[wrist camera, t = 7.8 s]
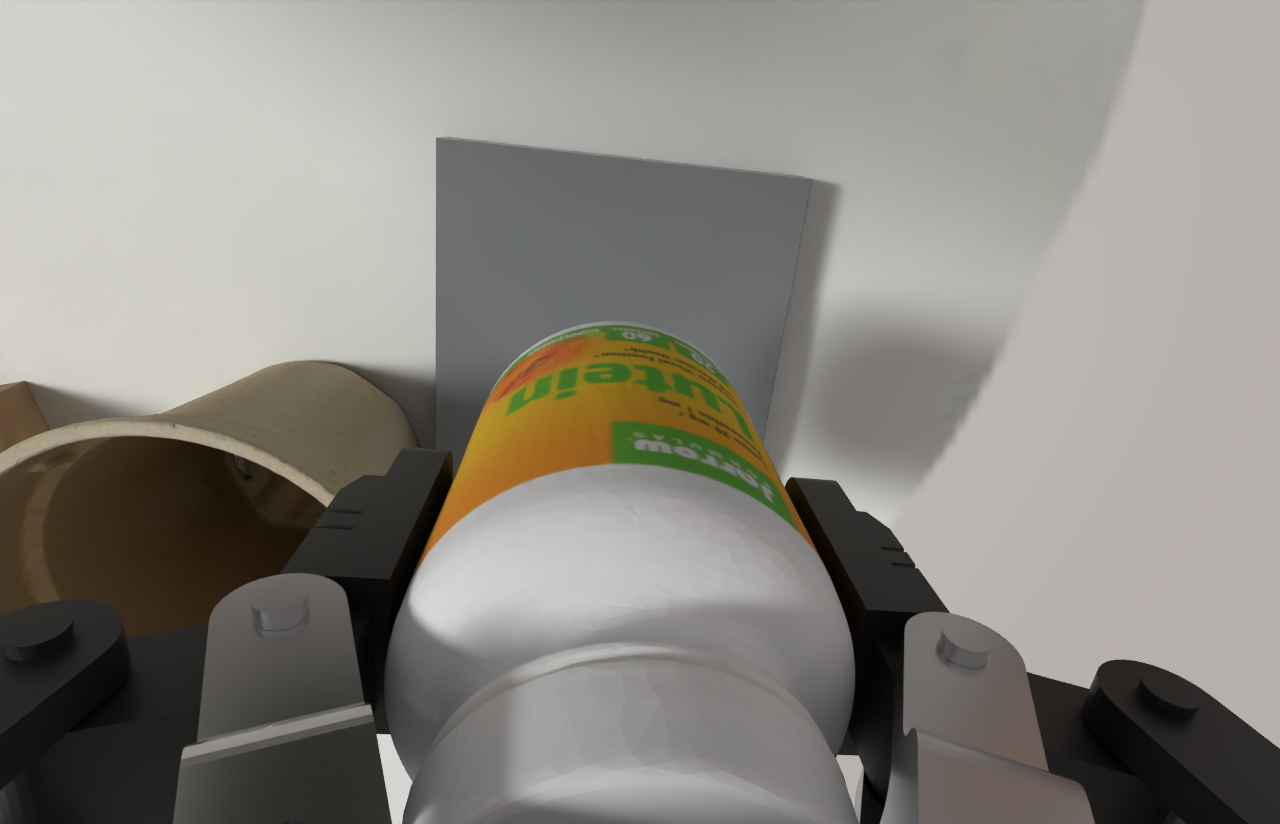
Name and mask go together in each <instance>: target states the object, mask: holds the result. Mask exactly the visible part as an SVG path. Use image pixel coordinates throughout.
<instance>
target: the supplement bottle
mask: <svg viewBox="0 0 1280 824" xmlns="http://www.w3.org/2000/svg"><path fill="white" fill-rule="evenodd" d="M854 692H855V661H854V651H853V645H852V639H851V634H850V631H849V627H848V624H847V620H846V616H845V614H844V611H843V608H842V606H841V603H840V601H839V598H838V595H837V593H836V591H835V588H834V586H833V583H832V581H831V578H830V576H829V574H828V572H827V570H826V568H825V566H824V564H823V562H822V560H821V558H820V556H819V554H818V552H817V550H816V548H815V546H814V544H813V542H812V540H811V538H810V536H809V534H808V532H807V531H806V529H805V527H804V525H803V523H802V521H801V519H800V517H799V515H798V513H797V511H796V509H795V507H794V505H793V503H792V501H791V499H790V497H789V495H788V493H787V492H786V490H785V488H784V486H783V484H782V482H781V480H780V478H779V476H778V474H777V472H776V470H775V468H774V466H773V464H772V461H771V459H770V457H769V455H768V453H767V451H766V450H765V448H764V446H763V444H762V442H761V440H760V438H759V436H758V433H757V432H756V430H755V428H754V426H753V424H752V422H751V420H750V417H749V415H748V413H747V411H746V410H745V408H744V405H743V403H742V401H741V399H740V398H739V396H738V394H737V393H736V391H735V389H734V388H733V386H732V384H731V383H730V382H729V380H728V379H727V377H726V376H725V374H724V373H723V372H722V370H721V369H720V368H719V367H718V366H717V365H716V364H715V363H714V362H713V360H712V359H710V358H709V357H708V356H707V355H706V354H705V353H703V352H702V351H701V350H700V349H698V348H697V347H695V346H694V345H693V344H691V343H690V342H688V341H686V340H684V339H682V338H681V337H679V336H677V335H675V334H672V333H670V332H668V331H665V330H663V329H660V328H657V327H654V326H649V325H645V324H640V323H635V322H624V321H603V322H593V323H587V324H582V325H578V326H575V327H571V328H568V329H565V330H562V331H559V332H557V333H555V334H553V335H551V336H548V337H547V338H545V339H543V340H541V341H539V342H538V343H536V344H535V345H533V346H532V347H530V348H529V349H528V350H526V351H525V352H523V353H522V354H521V355H520V356H519V357H518V358H517V359H516V360H514V361H513V362H512V364H511V365H510V366H509V367H508V368H507V369H506V370H505V371H504V373H503V374H502V376H501V377H500V378H499V380H498V381H497V383H496V384H495V386H494V388H493V389H492V391H491V393H490V395H489V397H488V399H487V401H486V403H485V405H484V407H483V409H482V412H481V414H480V417H479V419H478V422H477V424H476V426H475V429H474V431H473V434H472V436H471V438H470V441H469V443H468V446H467V448H466V451H465V453H464V455H463V458H462V460H461V463H460V465H459V468H458V470H457V473H456V475H455V477H454V480H453V482H452V484H451V487H450V489H449V491H448V494H447V496H446V498H445V501H444V503H443V505H442V508H441V510H440V512H439V515H438V517H437V519H436V522H435V524H434V526H433V529H432V531H431V533H430V536H429V538H428V540H427V543H426V545H425V548H424V550H423V552H422V555H421V557H420V559H419V561H418V563H417V565H416V568H415V571H414V573H413V576H412V578H411V581H410V583H409V586H408V588H407V591H406V593H405V596H404V599H403V602H402V604H401V607H400V610H399V612H398V615H397V617H396V620H395V623H394V627H393V630H392V634H391V637H390V641H389V645H388V651H387V657H386V663H385V671H384V699H385V710H386V715H387V720H388V725H389V730H390V734H391V737H392V740H393V743H394V746H395V749H396V751H397V753H398V756H399V758H400V760H401V762H402V764H403V766H404V768H405V770H406V772H407V773H408V775H409V777H410V778H411V780H412V782H413V784H412V786H411V789H410V792H409V796H408V799H407V803H406V807H405V810H404V814H403V822H402V824H859V822H858V819H857V816H856V813H855V810H854V807H853V805H852V802H851V799H850V796H849V793H848V790H847V787H846V783H845V779H844V776H843V774H842V772H841V769H840V767H839V765H838V763H837V760H836V756H837V754H838V752H839V750H840V748H841V745H842V743H843V740H844V737H845V734H846V731H847V728H848V725H849V721H850V717H851V712H852V707H853V699H854Z"/></svg>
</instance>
